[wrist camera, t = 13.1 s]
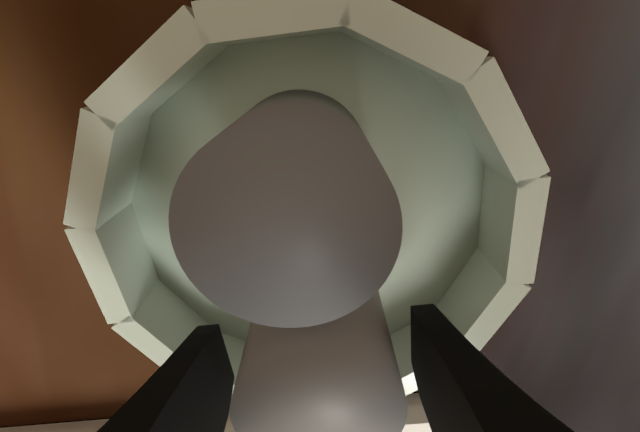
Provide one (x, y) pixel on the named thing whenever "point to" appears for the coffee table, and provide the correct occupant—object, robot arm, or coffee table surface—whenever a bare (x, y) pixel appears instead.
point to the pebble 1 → (287, 214)
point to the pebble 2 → (321, 377)
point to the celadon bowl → (377, 125)
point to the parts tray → (414, 428)
